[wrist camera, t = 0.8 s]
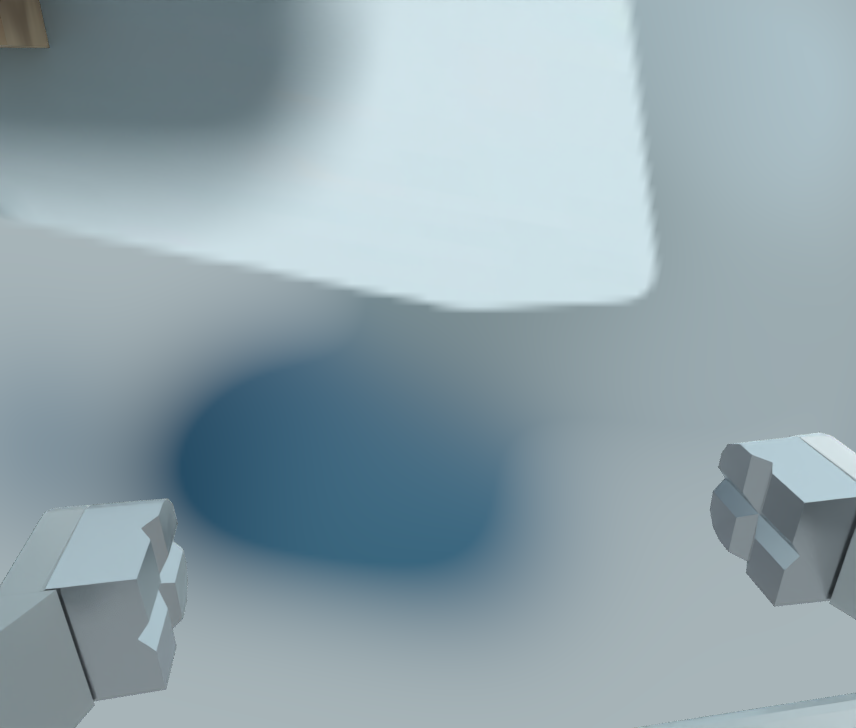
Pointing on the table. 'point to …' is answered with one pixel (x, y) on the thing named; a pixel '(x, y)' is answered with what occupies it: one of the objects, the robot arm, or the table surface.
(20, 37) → the walnut block
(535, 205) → the table surface
